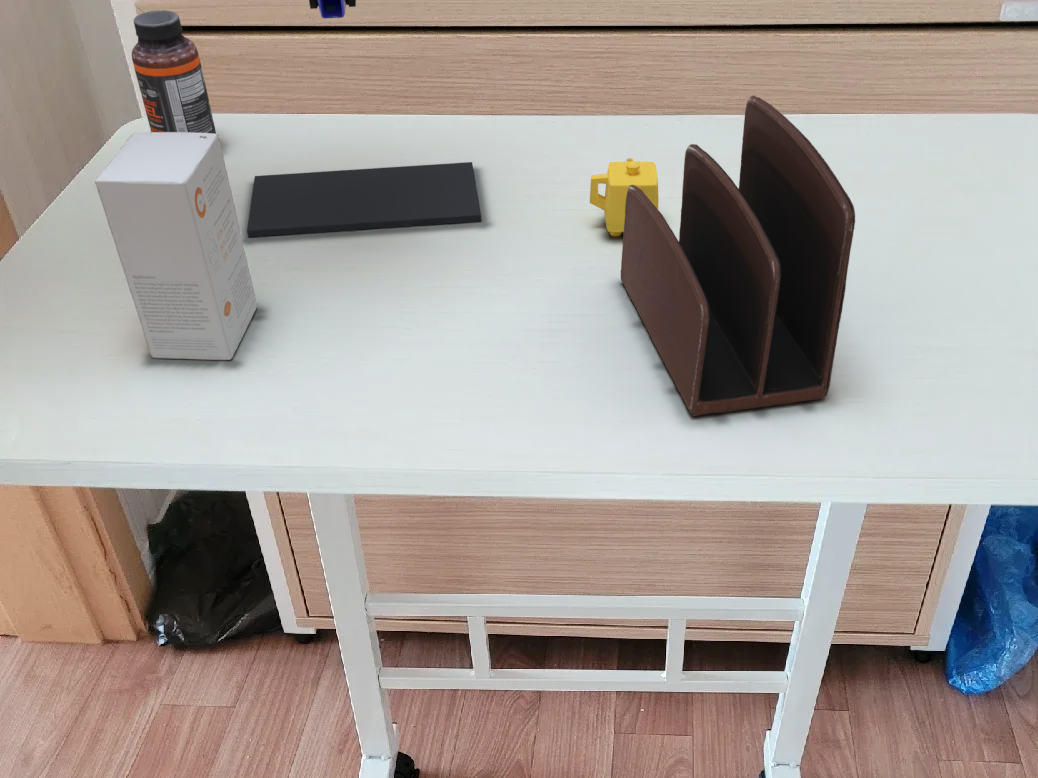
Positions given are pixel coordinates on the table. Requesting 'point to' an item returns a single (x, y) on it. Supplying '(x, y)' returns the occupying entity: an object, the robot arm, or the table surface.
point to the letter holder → (745, 271)
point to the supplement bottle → (170, 75)
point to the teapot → (623, 190)
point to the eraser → (332, 8)
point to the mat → (363, 199)
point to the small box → (179, 243)
